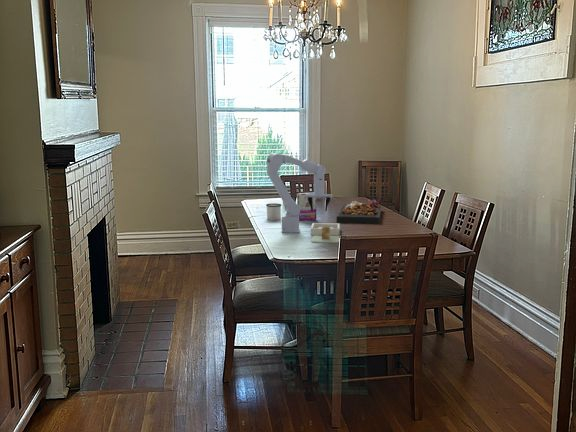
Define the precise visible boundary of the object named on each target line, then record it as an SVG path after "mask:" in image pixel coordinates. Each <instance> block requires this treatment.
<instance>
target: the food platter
mask: <svg viewBox="0 0 576 432" xmlns="http://www.w3.org/2000/svg"><path fill="white" fill-rule="evenodd" d="M370 201H371V202H370ZM379 202H380V199H378V200H376V199H372V200H370V198H369V199H368V202H361V203H360V202H358V201H357V200H353V201H351V202H350V203H345V204H343V205H342V206H341V208H340V211H339V212H338V214H337V215H336V224H367V225H368V224H370V225H371V224H372V225H373V224H374V225H379V224H380V221H381V220H380V219H381V215H382V205H381V204H379Z"/></svg>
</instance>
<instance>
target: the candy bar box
mask: <svg viewBox="0 0 576 432" xmlns="http://www.w3.org/2000/svg"><path fill="white" fill-rule="evenodd" d="M306 194H314V191H313V192H297V193H296V204H297V205H298V206H299V207H300V213H299V222H301V221H302V222H305V221H306V222H307V221H317V198H313V211H311V207H310V204H309V202H308V198H306Z"/></svg>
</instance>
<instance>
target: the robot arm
mask: <svg viewBox="0 0 576 432" xmlns="http://www.w3.org/2000/svg"><path fill="white" fill-rule="evenodd" d="M287 163H288V164H291V165H295V166H298V167H300V169H301V170H302V171H304V172H308V173H311V174H313V192H314V194H306V198H308V202H309V204H310V207H311V211H313V198H316V199H325V208H324V209H325V212H327V211H328V207H329V203H330V201H331V199H333V194H332V193H331V194H330V193H329V194H327V193H325V174H326V172H327V170H326V167H325V166H324V165H323V164H318V162H313V161H311V160H310V159H308V158H307V159H304V160H300V159H299V158H298V159H297V158H295V157H292V156H291V155H286V154H283V153H282V154H281V153H276V152H271V153H270V154H269V155H268V156H267V159H266V165H267V168H266V174H267V175H268V177H269V179H270V181H271V183H272V185H273V186H274V188H275V190H276V191H277V193H278V196H280V199H281V200H282V204H283V206H284V211H285V212H286V213H285V215H281V233H292V234H293V233H296V234H297V233H298V234H299V233H300V232H301V229H300V221H299V213H300V207H299V206H298V205H297V202H295V200H294V199H293V198H292V196H291V194H290V193H289V191H288V189H287V187H286V185H285V184H284V182H283V180H282V179H281V177H280V175H279V169H280V168H281V167H282V165H283V164H287Z"/></svg>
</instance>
